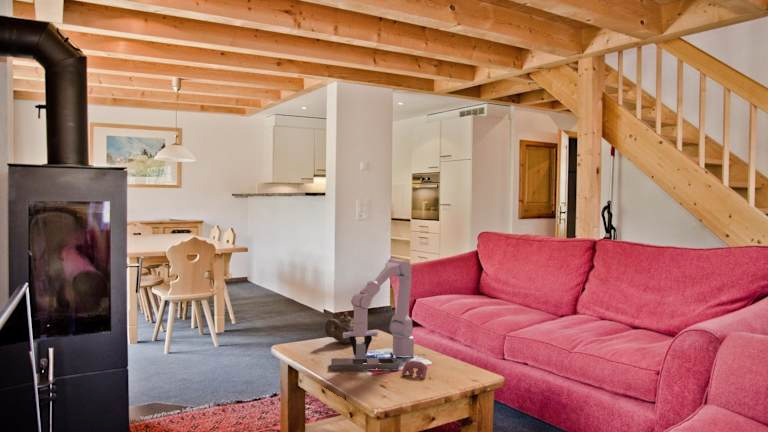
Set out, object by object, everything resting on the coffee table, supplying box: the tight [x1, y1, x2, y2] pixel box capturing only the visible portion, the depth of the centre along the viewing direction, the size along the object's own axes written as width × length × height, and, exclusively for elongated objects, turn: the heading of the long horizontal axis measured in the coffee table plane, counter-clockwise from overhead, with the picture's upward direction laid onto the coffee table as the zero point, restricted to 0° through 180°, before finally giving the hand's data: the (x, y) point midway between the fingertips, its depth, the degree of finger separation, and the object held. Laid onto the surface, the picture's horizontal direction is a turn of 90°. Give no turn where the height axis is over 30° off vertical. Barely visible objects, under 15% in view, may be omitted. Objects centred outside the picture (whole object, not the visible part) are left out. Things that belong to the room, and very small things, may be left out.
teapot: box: [324, 311, 357, 345], centre depth 268 cm, size 21×12×15 cm, turn 130°
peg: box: [353, 341, 367, 359], centre depth 234 cm, size 4×4×6 cm
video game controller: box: [401, 360, 428, 380], centre depth 225 cm, size 10×5×7 cm, turn 72°
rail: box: [330, 357, 400, 372], centre depth 234 cm, size 28×8×2 cm, turn 95°
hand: (360, 353), depth 234 cm, fingers closed on peg, 4 cm apart
